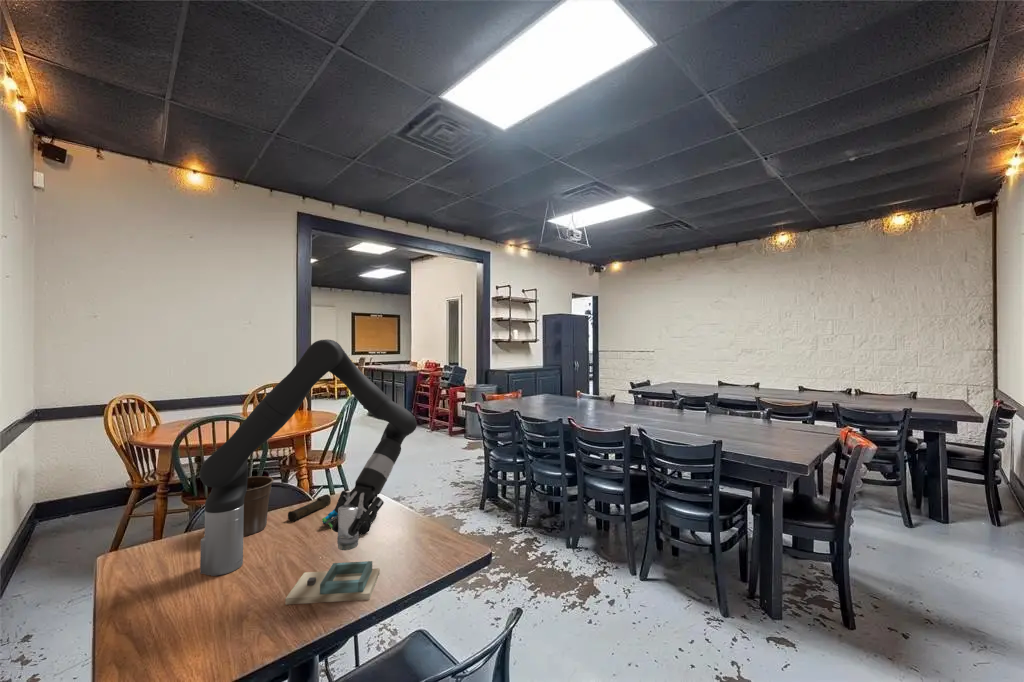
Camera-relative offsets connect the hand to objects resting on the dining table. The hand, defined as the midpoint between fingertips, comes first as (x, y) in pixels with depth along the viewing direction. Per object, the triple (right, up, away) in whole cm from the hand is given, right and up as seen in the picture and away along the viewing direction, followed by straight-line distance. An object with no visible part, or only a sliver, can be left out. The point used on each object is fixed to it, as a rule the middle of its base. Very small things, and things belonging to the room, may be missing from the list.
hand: (342, 532), depth 108 cm
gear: (-20, -16, +42) cm, 49 cm away
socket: (+1, -4, +2) cm, 5 cm away
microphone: (-7, -16, +40) cm, 44 cm away
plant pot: (-48, -16, +36) cm, 62 cm away
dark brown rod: (-34, -17, +52) cm, 64 cm away
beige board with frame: (-2, -15, +1) cm, 15 cm away
